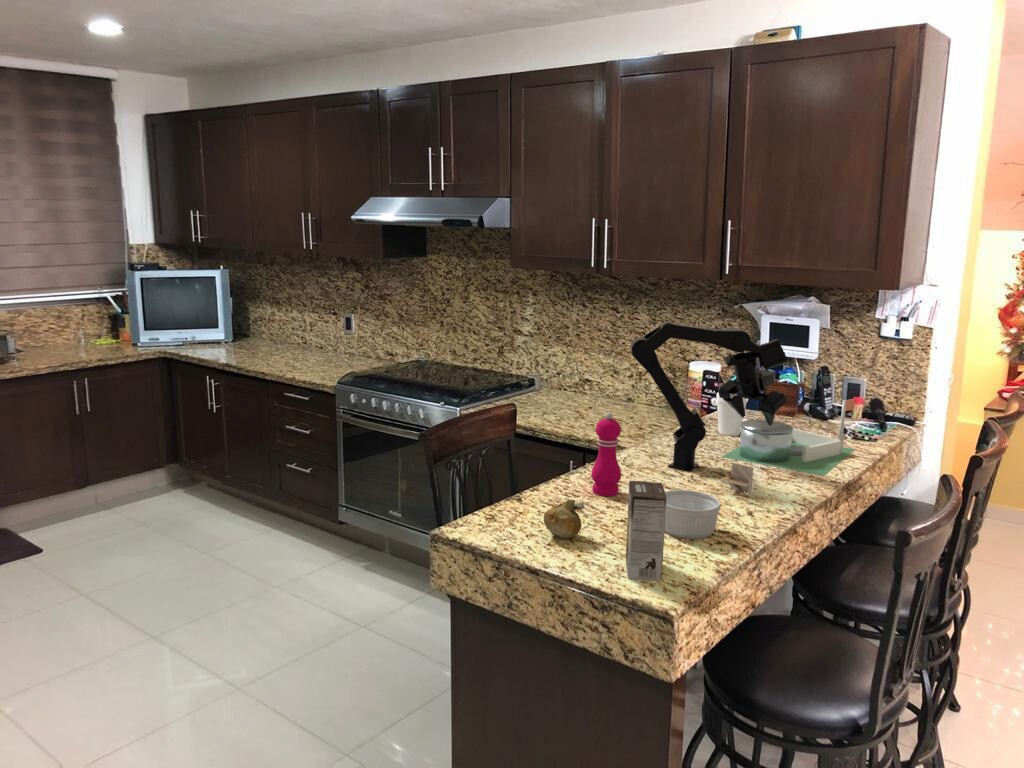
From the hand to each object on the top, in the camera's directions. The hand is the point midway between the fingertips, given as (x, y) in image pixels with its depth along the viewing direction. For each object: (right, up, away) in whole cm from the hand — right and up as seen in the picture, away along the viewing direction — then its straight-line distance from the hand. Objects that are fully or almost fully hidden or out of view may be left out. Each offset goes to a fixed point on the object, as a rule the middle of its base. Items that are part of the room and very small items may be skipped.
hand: (757, 420), depth 219 cm
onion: (-57, -22, -54) cm, 81 cm away
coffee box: (-43, -25, -70) cm, 86 cm away
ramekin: (-30, -22, -49) cm, 61 cm away
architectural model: (-11, -17, -23) cm, 31 cm away
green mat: (+14, -10, +14) cm, 22 cm away
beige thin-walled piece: (+18, -9, +19) cm, 28 cm away
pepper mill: (-45, -17, -25) cm, 54 cm away
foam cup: (+2, -6, +36) cm, 37 cm away
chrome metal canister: (+5, -11, +10) cm, 16 cm away
